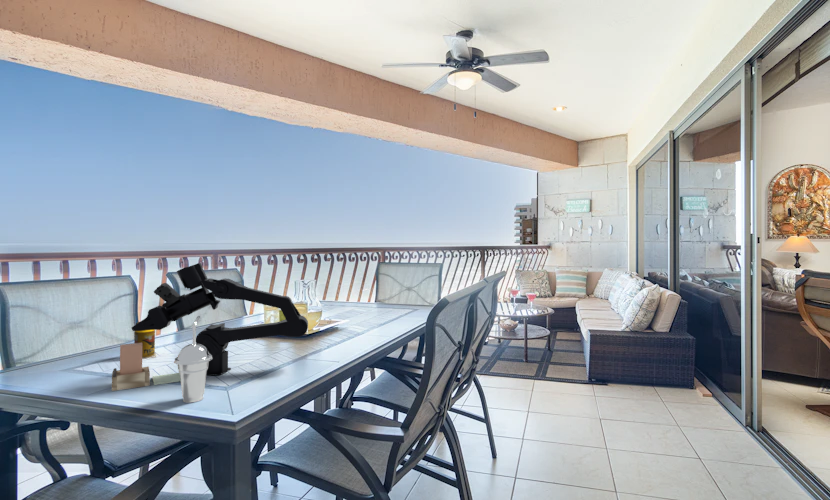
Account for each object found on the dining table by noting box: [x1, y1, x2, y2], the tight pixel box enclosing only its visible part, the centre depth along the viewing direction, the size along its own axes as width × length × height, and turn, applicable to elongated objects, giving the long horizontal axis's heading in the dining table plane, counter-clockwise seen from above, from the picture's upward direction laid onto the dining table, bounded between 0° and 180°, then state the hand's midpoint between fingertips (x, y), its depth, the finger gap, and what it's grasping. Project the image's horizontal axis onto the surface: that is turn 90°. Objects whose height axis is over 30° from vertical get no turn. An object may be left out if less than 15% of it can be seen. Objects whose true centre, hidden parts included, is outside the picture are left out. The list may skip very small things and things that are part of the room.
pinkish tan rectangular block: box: [119, 342, 143, 375], centre depth 115 cm, size 5×3×11 cm, turn 124°
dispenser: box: [111, 366, 151, 392], centre depth 115 cm, size 8×7×4 cm
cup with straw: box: [173, 315, 213, 404], centre depth 105 cm, size 8×9×20 cm
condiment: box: [133, 321, 157, 360], centre depth 145 cm, size 7×8×12 cm
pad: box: [152, 372, 181, 386], centre depth 120 cm, size 8×8×1 cm
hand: (138, 326), depth 122 cm, fingers open, 9 cm apart
